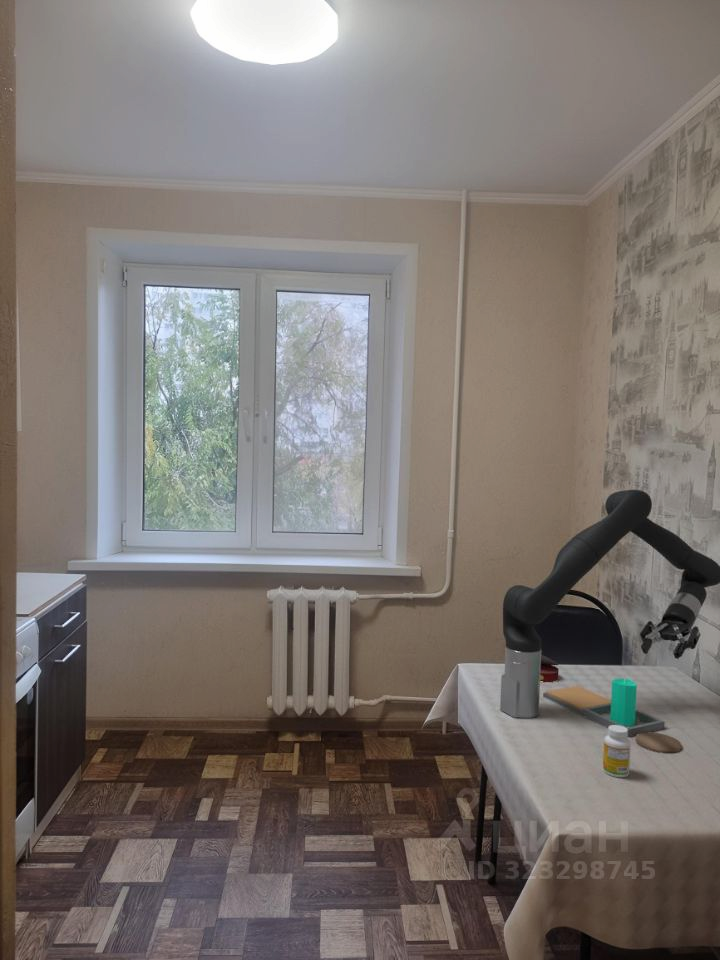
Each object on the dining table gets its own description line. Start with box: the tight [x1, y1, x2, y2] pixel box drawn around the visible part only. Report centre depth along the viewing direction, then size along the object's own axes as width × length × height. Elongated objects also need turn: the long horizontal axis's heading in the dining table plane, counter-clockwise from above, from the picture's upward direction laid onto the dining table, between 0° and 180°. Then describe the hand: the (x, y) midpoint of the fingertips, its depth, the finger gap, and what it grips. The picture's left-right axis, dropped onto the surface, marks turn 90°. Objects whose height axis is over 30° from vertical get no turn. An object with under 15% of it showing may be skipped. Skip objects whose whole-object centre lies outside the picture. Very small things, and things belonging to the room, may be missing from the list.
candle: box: [609, 675, 638, 727], centre depth 182 cm, size 6×6×12 cm
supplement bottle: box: [602, 725, 632, 778], centre depth 153 cm, size 5×5×10 cm
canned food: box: [540, 654, 559, 683], centre depth 216 cm, size 11×10×10 cm
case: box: [542, 685, 666, 738], centre depth 189 cm, size 13×30×2 cm, turn 27°
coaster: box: [635, 731, 682, 754], centre depth 169 cm, size 10×10×1 cm
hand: (659, 653), depth 185 cm, fingers open, 8 cm apart
